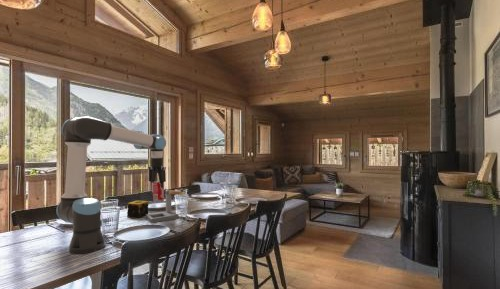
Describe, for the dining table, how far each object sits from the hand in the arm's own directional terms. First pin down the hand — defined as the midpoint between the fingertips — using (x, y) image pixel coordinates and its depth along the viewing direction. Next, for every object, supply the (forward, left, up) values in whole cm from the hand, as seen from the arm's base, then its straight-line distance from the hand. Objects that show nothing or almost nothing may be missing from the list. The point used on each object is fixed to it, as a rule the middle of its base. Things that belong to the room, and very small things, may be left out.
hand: (157, 192), depth 184 cm
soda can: (+1, 0, -6) cm, 6 cm away
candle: (-9, +16, -18) cm, 26 cm away
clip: (+12, 0, -3) cm, 12 cm away
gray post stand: (+3, +1, -18) cm, 18 cm away
